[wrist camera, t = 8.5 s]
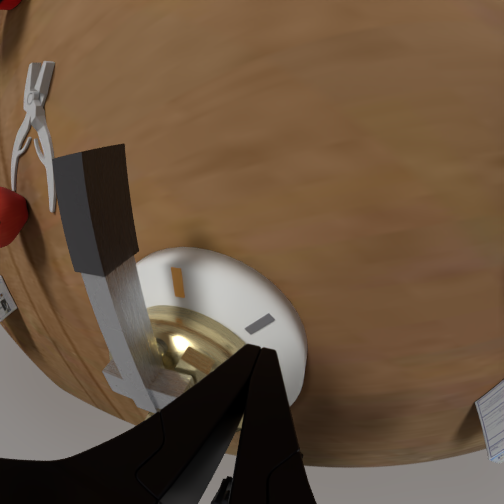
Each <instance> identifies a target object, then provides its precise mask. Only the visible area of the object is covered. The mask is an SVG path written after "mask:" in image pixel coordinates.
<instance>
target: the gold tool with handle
mask: <svg viewBox="0 0 504 504" xmlns="http://www.w3.org/2000/svg"><path fill="white" fill-rule="evenodd" d="M52 166H53V174H54V181H55V187H56V193H57V199H58V205H59V210H60V215H61V220H62V224H63V229H64V233H65V237H66V241H67V245H68V249H69V253H70V257H71V260H72V264H73V267H74V270H75V272H80V273H81V274H82V277H83V280H84V284H85V287H86V290H87V293H88V296H89V299H90V302H91V305H92V307H93V310H94V313H95V316H96V318H97V321H98V324H99V326H100V329H101V331H102V334H103V336H104V339H105V341H106V343H107V346H108V348H109V357H110V362H109V364H108V365H107V366H106V367H105V368H104V370H103V371H102V372H103V374H104V376H105V377H106V379H107V381H108V383H109V385H110V387H111V388H112V390H113V391H115V392H117V393H119V394H122V395H124V396H127V397H129V398H131V399H133V400H134V402H135V404H136V405H137V407H139V408H141V409H144V410H147V411H149V414H148V415H147V417H146V419H148V418H149V417H151V416H152V415H153V414H155V413H156V412H160V410H161V409H162V408H163V407H165V406H166V405H168V404H169V403H170V402H172V401H173V400H175V399H176V398H177V397H179V396H180V395H181V394H183V393H184V392H185V391H187V390H188V389H189V388H191V387H192V386H193V385H195V384H196V383H197V382H199V381H200V380H201V379H203V378H204V377H205V376H206V375H208V374H209V373H210V372H212V371H213V370H214V369H215V368H217V367H218V366H219V365H221V364H222V363H223V362H224V361H226V360H227V359H228V358H229V357H231V356H232V355H233V354H234V353H236V352H237V351H238V350H239V349H240V348H242V347H243V346H244V345H245V344H246V343H244V342H243V341H242V340H241V339H240V338H239V337H238V336H237V335H236V334H234V333H233V332H232V331H231V330H229V329H228V328H227V327H225V326H224V325H222V324H220V323H219V322H217V321H215V320H213V319H212V318H210V317H208V316H205V315H203V314H201V313H199V312H196V311H193V310H190V309H187V308H182V307H178V306H170V305H157V306H151V307H148V308H146V305H145V301H144V297H143V293H142V289H141V285H140V280H139V276H138V272H137V267H136V262H135V258H134V254H136V253H137V252H139V248H138V243H137V237H136V232H135V226H134V220H133V213H132V207H131V199H130V192H129V184H128V176H127V167H126V156H125V145H124V144H118V145H113V146H107V147H102V148H97V149H92V150H88V151H83V152H79V153H74V154H70V155H66V156H62V157H58V158H54V159H52ZM243 415H244V414H243ZM146 419H145V420H146ZM242 421H243V417H242V419H241V422H240V424H239V426H238V428H237V430H236V432H238V431H240V430H241V427H242Z"/></svg>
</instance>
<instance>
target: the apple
mask: <svg viewBox="0 0 504 504" xmlns="http://www.w3.org/2000/svg"><path fill="white" fill-rule="evenodd" d="M27 219H28V210H27V205H26V200H25V198H24V197H23V196H21V195H19V194H17V193H15V192H13V191H11V190H9V189H7V188H4V187H0V248H2V247H5V246H7V245H9V244H10V243H11V242H12V241H13V240H14V239H15V238H16V236H17V235H18V233H19V232H20V230H21V229H22V227H23V226H24V224H25V223H26V221H27Z"/></svg>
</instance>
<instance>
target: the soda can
mask: <svg viewBox="0 0 504 504" xmlns="http://www.w3.org/2000/svg"><path fill="white" fill-rule="evenodd" d="M21 1H22V0H0V10H11V9H13V8H14V7H16V6H17V5H18V4H19V3H20V2H21Z"/></svg>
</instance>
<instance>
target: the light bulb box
mask: <svg viewBox="0 0 504 504" xmlns="http://www.w3.org/2000/svg"><path fill="white" fill-rule="evenodd" d="M16 309H17V306H16V304H15V303H14V301H13V299H12V297H11V295H10V293H9V291H8V289H7V287H6V284H5V282H4V280H3V278H2V276H0V322H1V321H2V320H3V319H5V318H6V317H7V316H8V315H9V314H11V313H12V312H13V311H14V310H16Z"/></svg>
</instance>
